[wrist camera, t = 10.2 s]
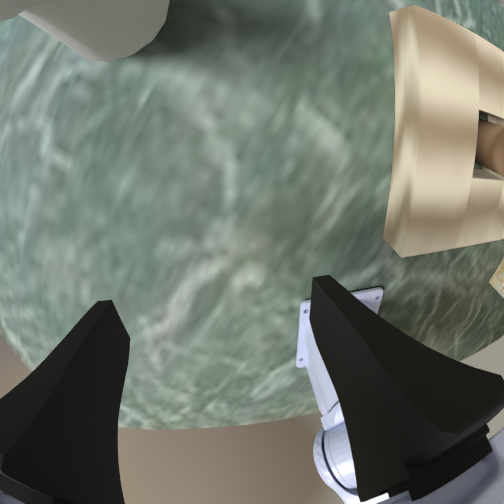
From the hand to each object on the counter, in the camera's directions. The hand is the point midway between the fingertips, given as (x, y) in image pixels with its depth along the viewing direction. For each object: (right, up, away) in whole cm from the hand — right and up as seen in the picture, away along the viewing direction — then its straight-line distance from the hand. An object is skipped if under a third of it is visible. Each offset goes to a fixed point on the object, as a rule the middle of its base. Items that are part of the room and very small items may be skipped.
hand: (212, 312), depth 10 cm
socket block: (+20, +12, +7) cm, 25 cm away
